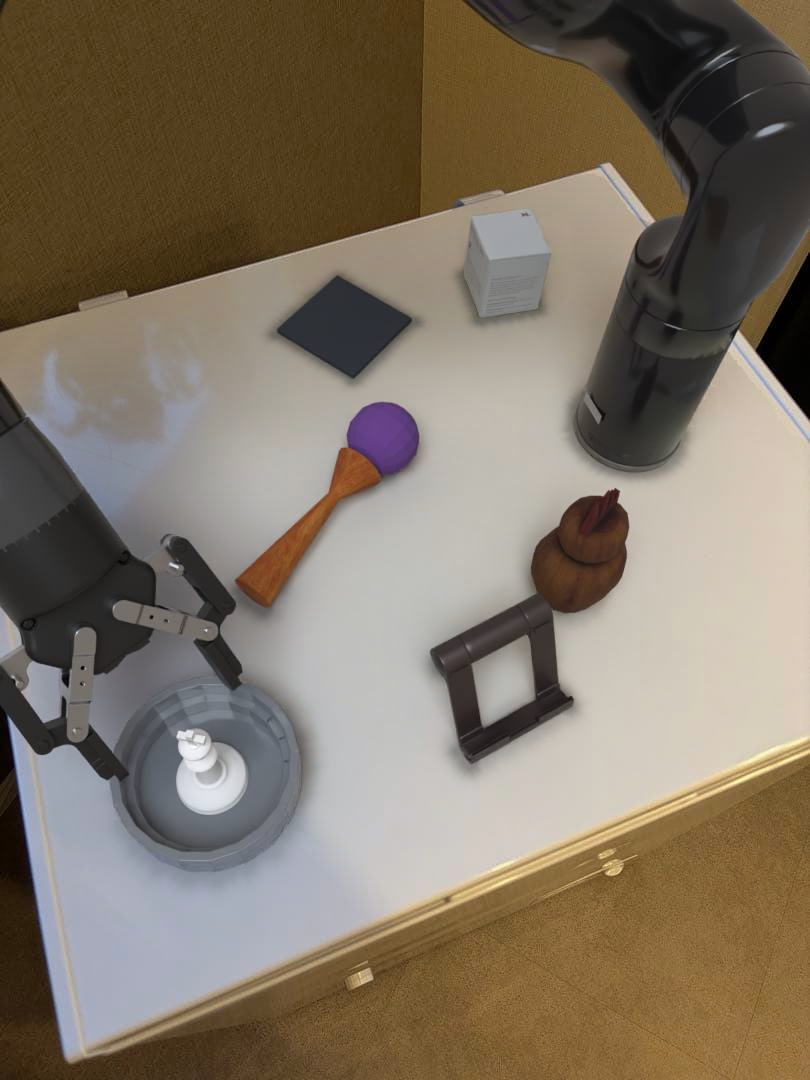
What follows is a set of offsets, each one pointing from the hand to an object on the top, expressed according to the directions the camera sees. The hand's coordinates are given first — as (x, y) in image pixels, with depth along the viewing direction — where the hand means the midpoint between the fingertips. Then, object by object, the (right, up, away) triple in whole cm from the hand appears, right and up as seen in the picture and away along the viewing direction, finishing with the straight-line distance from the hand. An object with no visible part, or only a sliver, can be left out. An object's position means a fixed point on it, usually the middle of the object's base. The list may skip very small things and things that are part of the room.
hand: (179, 728), depth 56 cm
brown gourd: (+27, +8, +15) cm, 32 cm away
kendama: (+8, +14, +17) cm, 24 cm away
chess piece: (+1, -5, +6) cm, 7 cm away
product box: (+23, +36, +31) cm, 53 cm away
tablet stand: (+21, 0, +10) cm, 23 cm away
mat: (+9, +32, +28) cm, 43 cm away
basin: (+1, -5, +6) cm, 8 cm away
